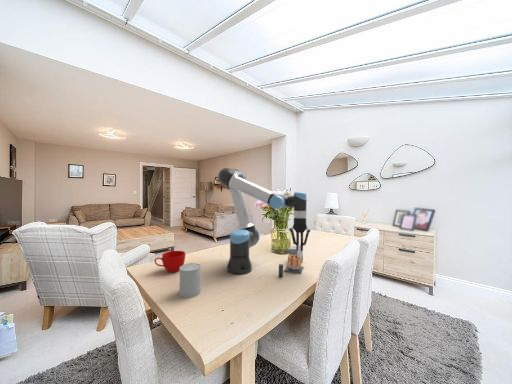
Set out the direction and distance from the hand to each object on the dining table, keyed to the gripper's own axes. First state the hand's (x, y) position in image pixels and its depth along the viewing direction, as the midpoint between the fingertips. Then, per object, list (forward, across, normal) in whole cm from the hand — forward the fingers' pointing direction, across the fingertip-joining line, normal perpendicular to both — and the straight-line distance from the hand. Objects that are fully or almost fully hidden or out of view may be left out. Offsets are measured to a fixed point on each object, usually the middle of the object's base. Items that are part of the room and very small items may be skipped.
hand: (299, 256), depth 129 cm
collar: (+6, -3, 0) cm, 7 cm away
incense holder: (+9, -5, +14) cm, 18 cm away
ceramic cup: (+9, -71, -31) cm, 78 cm away
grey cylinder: (+9, -43, -48) cm, 65 cm away
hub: (+9, -3, 0) cm, 9 cm away
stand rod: (+9, -8, -13) cm, 18 cm away
